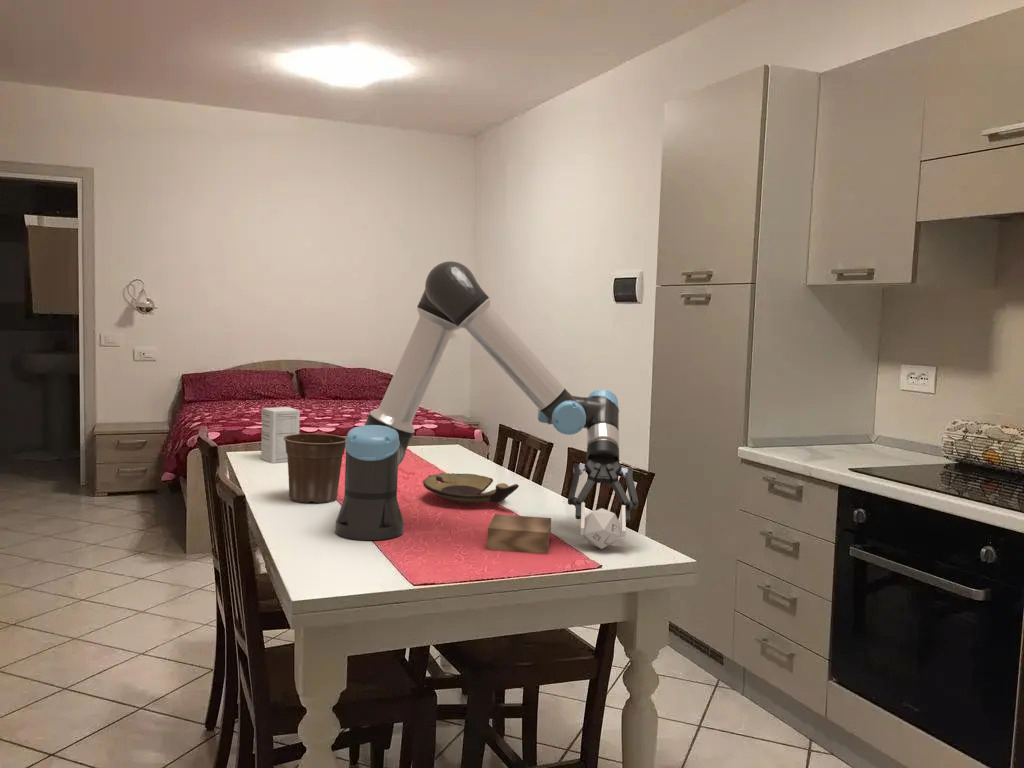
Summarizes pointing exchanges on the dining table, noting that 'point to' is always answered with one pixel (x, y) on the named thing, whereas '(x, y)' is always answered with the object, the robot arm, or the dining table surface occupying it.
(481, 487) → the oil lamp
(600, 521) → the die
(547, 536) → the walnut block
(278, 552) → the dining table surface
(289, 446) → the plant pot
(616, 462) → the robot arm
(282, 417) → the supplement box
